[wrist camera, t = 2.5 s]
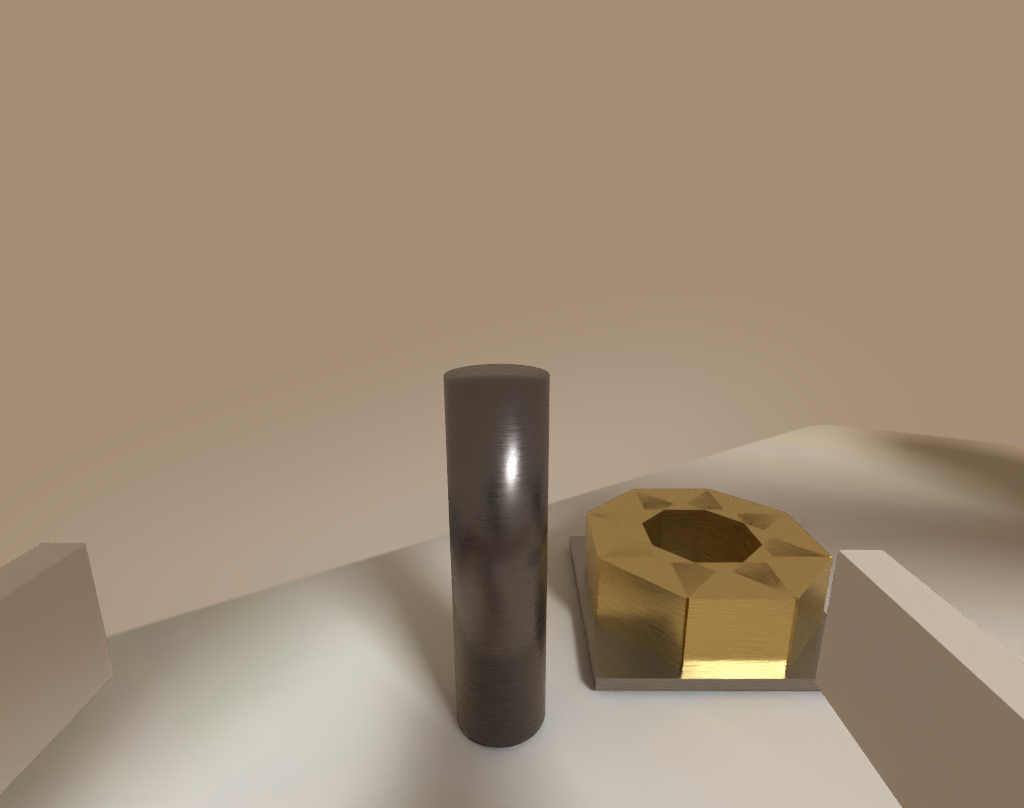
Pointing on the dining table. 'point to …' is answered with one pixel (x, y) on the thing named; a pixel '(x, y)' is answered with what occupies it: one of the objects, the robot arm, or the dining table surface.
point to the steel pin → (498, 546)
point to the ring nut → (699, 593)
